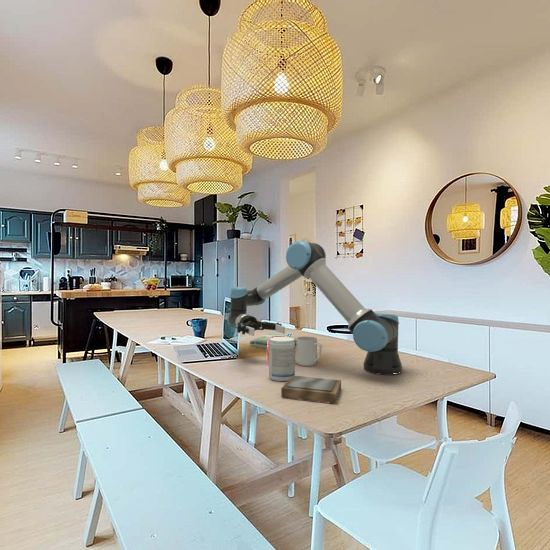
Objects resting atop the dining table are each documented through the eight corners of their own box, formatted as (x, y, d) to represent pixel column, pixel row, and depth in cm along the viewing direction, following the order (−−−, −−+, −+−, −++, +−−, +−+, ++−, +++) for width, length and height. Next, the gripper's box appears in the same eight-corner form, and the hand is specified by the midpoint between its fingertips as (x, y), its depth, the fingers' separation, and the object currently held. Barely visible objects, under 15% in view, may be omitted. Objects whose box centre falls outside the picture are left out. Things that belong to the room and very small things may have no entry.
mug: (291, 363, 159) (292, 338, 159) (304, 360, 166) (305, 335, 165) (314, 369, 151) (314, 342, 151) (326, 365, 157) (327, 339, 157)
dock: (341, 388, 126) (341, 379, 126) (335, 403, 112) (335, 392, 112) (292, 383, 131) (292, 374, 131) (281, 397, 117) (281, 386, 117)
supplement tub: (299, 379, 136) (300, 339, 136) (278, 383, 131) (278, 342, 131) (284, 373, 144) (285, 335, 144) (263, 376, 139) (264, 337, 139)
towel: (283, 351, 184) (283, 341, 184) (249, 346, 196) (249, 336, 196) (301, 346, 200) (301, 336, 200) (268, 341, 211) (268, 332, 211)
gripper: (271, 330, 171) (295, 338, 152) (220, 333, 159) (239, 342, 140) (271, 314, 171) (296, 320, 152) (220, 316, 159) (240, 323, 140)
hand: (269, 331), depth 146 cm, fingers open, 13 cm apart
